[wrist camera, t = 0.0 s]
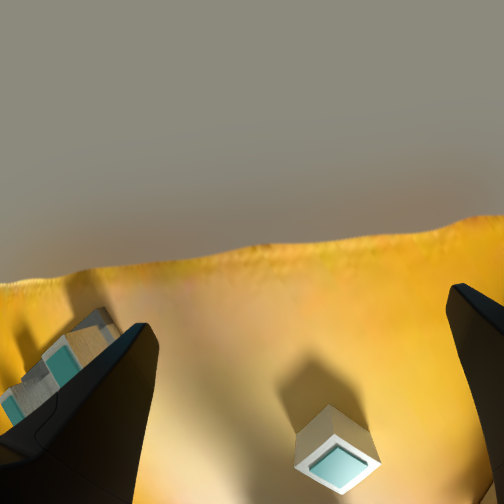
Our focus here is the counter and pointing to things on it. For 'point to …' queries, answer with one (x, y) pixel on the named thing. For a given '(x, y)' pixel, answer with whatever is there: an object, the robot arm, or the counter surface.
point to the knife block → (490, 496)
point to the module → (335, 451)
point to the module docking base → (60, 364)
